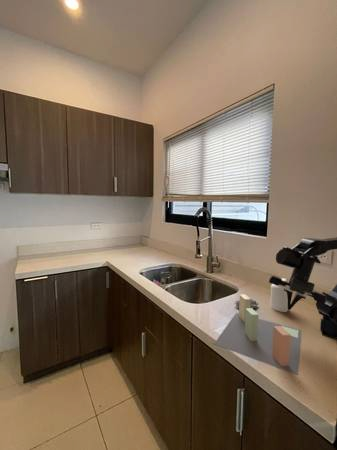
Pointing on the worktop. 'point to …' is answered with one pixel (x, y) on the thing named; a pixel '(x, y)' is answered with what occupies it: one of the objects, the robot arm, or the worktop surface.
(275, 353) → the terracotta tile
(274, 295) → the pill bottle
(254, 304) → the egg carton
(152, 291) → the worktop surface
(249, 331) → the sage tile
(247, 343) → the mat
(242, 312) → the sand tile
